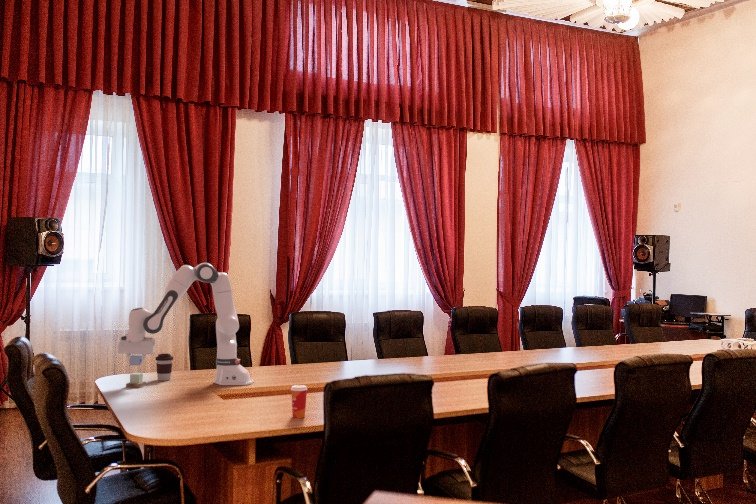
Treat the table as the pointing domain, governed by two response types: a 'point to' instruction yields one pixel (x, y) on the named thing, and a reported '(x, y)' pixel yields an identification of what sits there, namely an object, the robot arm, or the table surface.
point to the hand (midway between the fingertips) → (136, 361)
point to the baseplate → (135, 385)
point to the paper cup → (298, 400)
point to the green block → (136, 378)
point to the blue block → (135, 360)
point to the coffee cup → (164, 366)
